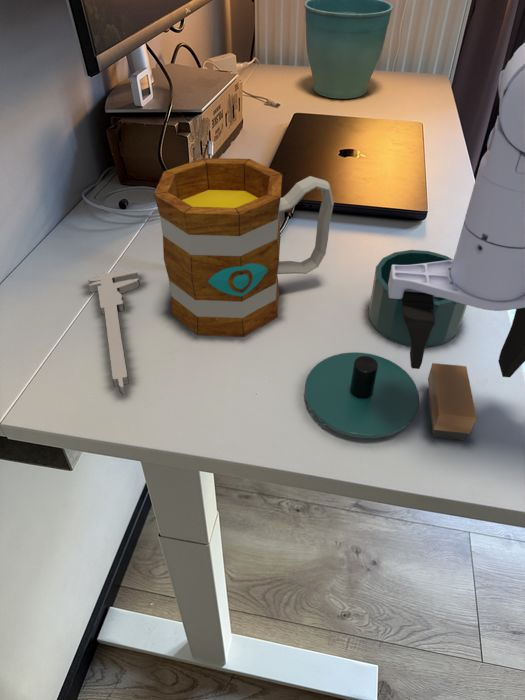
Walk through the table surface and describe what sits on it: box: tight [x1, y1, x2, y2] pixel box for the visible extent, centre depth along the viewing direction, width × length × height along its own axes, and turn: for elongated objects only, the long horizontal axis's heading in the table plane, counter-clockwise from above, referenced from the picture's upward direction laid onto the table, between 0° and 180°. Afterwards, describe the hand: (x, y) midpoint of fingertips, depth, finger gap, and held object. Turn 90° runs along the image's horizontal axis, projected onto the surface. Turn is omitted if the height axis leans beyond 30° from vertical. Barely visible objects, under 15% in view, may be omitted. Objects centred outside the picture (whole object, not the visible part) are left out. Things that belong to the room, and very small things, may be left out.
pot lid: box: [304, 352, 420, 439], centre depth 52 cm, size 11×11×5 cm
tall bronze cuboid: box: [427, 362, 477, 441], centre depth 51 cm, size 3×6×4 cm, turn 172°
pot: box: [368, 249, 468, 348], centre depth 61 cm, size 10×10×6 cm
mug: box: [153, 157, 335, 338], centre depth 61 cm, size 20×14×15 cm
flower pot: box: [304, 0, 394, 100], centre depth 117 cm, size 18×18×17 cm
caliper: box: [87, 270, 141, 395], centre depth 61 cm, size 20×1×6 cm
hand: (459, 365), depth 47 cm, fingers open, 7 cm apart
